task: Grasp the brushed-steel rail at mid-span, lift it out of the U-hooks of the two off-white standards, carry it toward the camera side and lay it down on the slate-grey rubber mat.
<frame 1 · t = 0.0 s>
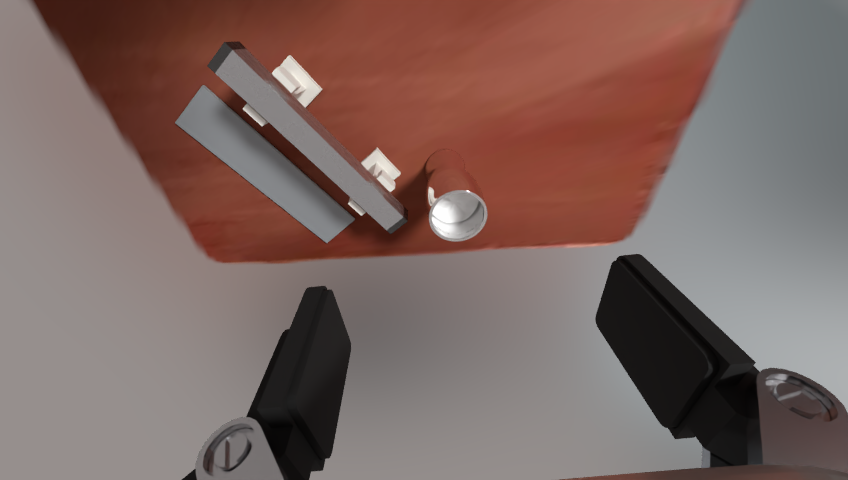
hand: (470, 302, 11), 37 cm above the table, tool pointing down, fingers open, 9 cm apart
silver metal cup: (445, 168, 47), on the table
steel rail: (328, 147, 37), point 7 cm above the table, touching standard, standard
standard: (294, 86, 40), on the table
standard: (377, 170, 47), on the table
mat: (274, 175, 46), on the table
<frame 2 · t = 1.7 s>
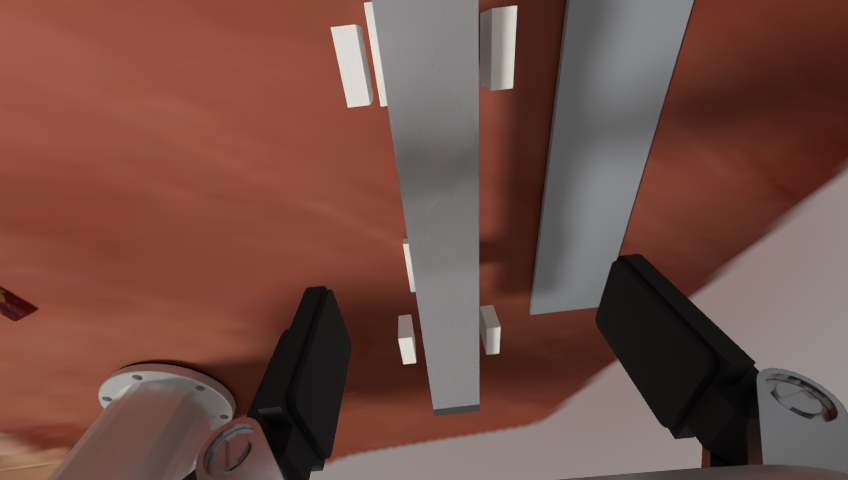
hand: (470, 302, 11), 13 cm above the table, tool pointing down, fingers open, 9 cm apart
steel rail: (438, 224, 16), point 7 cm above the table, touching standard, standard
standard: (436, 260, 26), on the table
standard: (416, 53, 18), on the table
mat: (590, 182, 23), on the table
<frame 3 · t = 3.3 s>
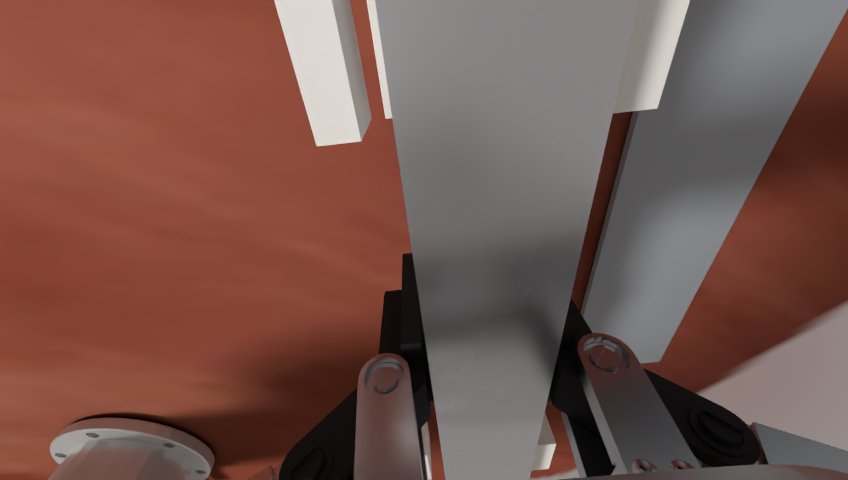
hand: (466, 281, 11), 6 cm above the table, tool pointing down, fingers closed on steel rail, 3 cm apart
steel rail: (471, 306, 10), point 7 cm above the table, touching gripper, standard, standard
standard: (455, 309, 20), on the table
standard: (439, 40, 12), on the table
mat: (666, 218, 17), on the table
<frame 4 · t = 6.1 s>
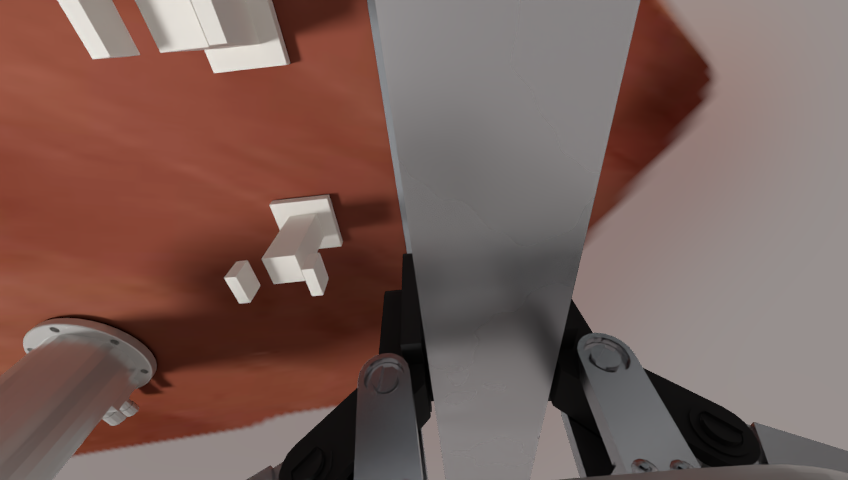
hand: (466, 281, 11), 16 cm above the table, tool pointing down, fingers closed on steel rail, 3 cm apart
steel rail: (472, 306, 10), point 18 cm above the table, touching gripper
mat: (434, 148, 25), on the table
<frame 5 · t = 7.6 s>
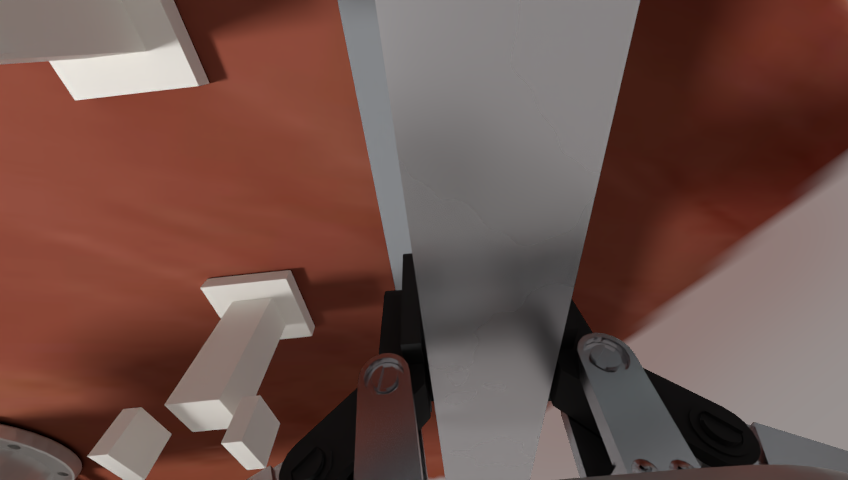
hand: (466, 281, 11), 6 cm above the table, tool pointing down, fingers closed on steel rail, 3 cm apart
steel rail: (472, 306, 10), point 7 cm above the table, touching gripper
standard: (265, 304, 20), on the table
mat: (446, 207, 17), on the table
when the fingers open (1 cm above the table, at t = 8.9 s): steel rail drops 2 cm, resting on mat.
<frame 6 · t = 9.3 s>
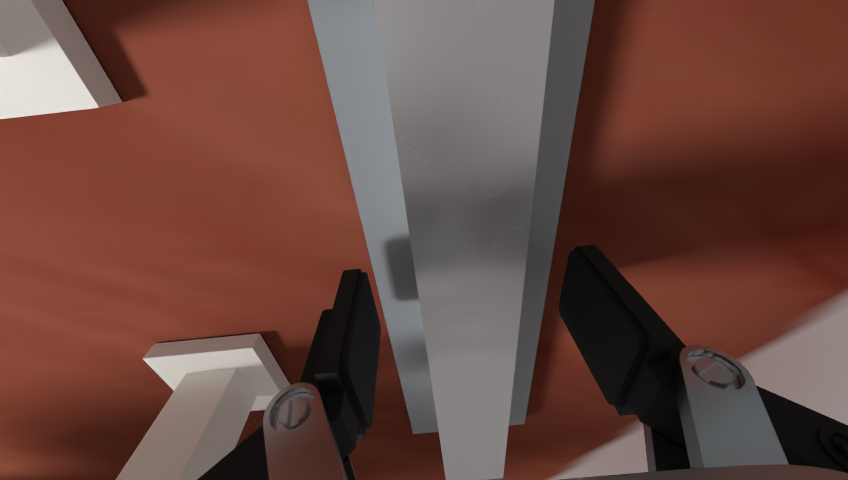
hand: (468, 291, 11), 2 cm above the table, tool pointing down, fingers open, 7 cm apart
steel rail: (458, 268, 12), resting on mat
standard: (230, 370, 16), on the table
mat: (461, 261, 12), on the table
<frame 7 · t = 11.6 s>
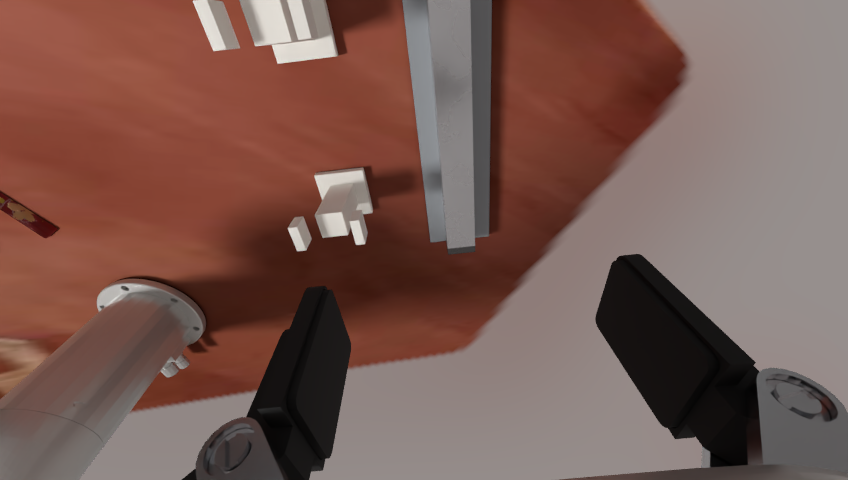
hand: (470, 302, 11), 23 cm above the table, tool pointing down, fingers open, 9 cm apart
steel rail: (452, 128, 30), resting on mat
mat: (453, 126, 30), on the table
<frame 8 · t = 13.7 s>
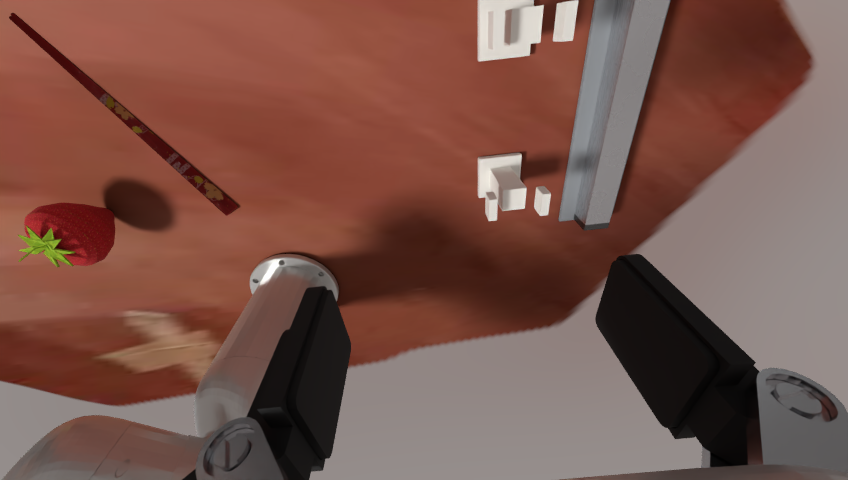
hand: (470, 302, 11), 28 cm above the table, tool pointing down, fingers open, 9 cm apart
steel rail: (606, 118, 35), resting on mat
chopstick: (144, 128, 34), on the table
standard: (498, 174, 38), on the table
strawberry: (110, 212, 39), on the table
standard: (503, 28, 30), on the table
mat: (605, 117, 35), on the table
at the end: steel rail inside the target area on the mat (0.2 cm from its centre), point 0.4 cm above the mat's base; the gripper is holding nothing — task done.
